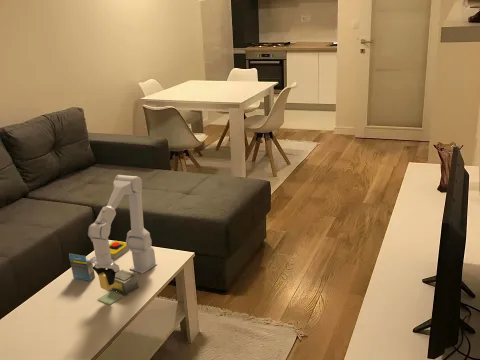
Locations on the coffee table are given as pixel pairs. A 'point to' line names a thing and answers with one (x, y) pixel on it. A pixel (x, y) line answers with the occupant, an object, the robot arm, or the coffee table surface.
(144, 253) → the robot arm
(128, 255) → the coffee table surface
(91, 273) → the label tape box
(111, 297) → the pad
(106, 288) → the ochre block
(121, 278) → the box
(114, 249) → the emergency button
